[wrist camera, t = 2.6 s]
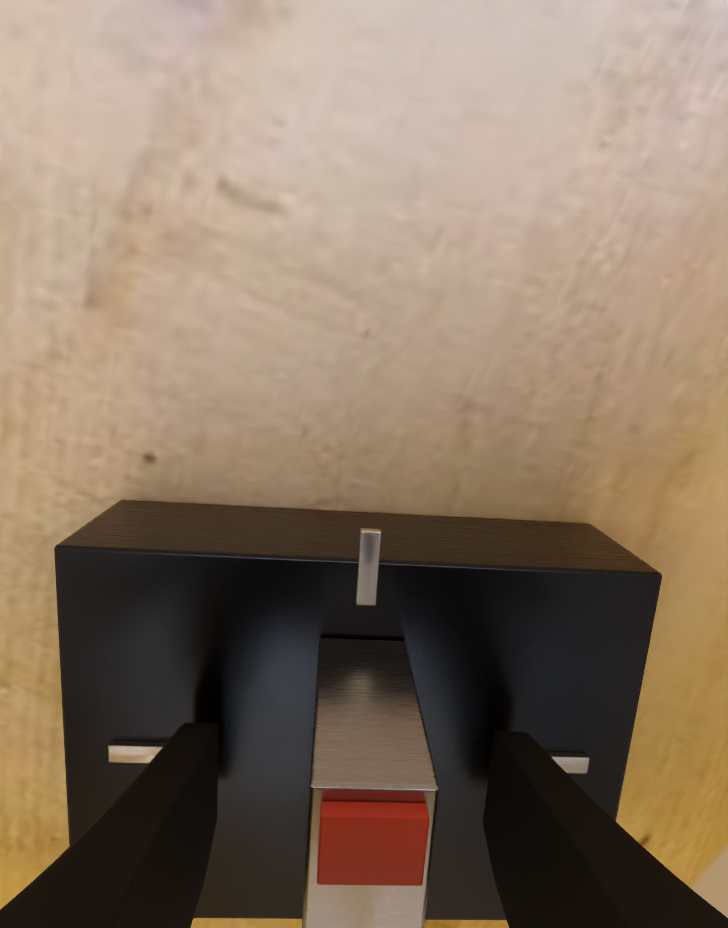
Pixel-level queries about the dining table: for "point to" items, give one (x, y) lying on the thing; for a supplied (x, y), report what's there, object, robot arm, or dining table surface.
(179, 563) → the control panel
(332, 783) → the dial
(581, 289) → the dining table surface
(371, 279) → the dining table surface
